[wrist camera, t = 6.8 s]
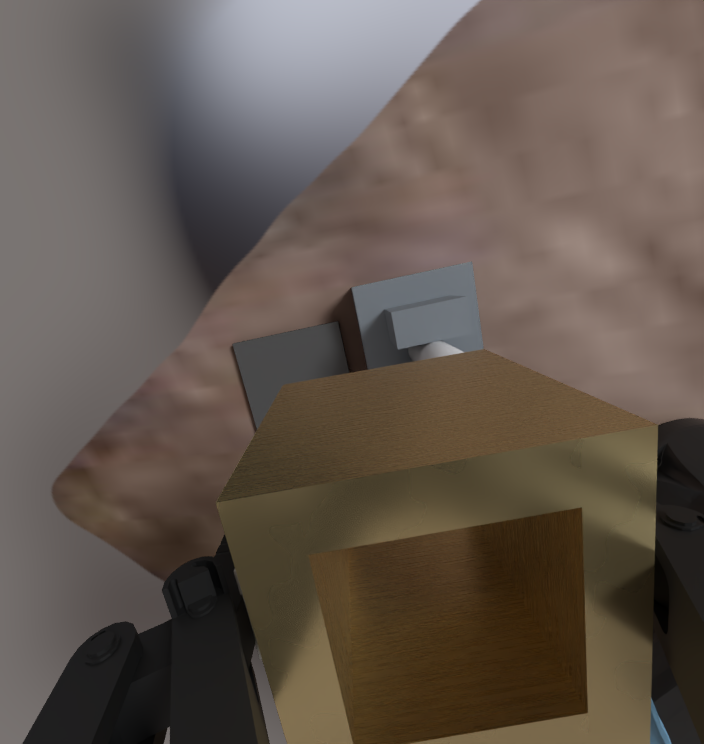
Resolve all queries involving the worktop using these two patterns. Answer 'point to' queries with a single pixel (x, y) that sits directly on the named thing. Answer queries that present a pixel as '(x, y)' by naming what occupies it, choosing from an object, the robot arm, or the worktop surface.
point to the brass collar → (449, 557)
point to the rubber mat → (288, 362)
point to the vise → (419, 316)
